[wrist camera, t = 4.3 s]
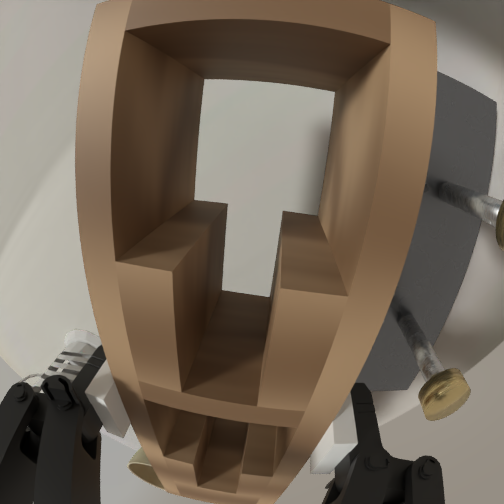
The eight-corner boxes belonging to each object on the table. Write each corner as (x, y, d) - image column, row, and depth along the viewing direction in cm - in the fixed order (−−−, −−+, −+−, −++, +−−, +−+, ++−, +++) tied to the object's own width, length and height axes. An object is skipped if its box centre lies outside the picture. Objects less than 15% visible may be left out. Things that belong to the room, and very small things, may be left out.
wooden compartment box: (183, 57, 9) (96, 4, 3) (362, 74, 8) (435, 21, 3) (186, 430, 18) (167, 492, 13) (274, 445, 18) (267, 510, 12)
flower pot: (208, 425, 27) (194, 476, 21) (222, 460, 31) (213, 501, 24) (134, 412, 29) (113, 455, 22) (158, 449, 32) (144, 485, 26)
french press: (141, 403, 27) (65, 572, 4) (67, 374, 28) (-20, 505, 5) (126, 343, 24) (2, 557, 1) (45, 314, 24) (-80, 458, 1)
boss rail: (402, 63, 13) (486, 17, 4) (488, 103, 12) (578, 102, 4) (330, 381, 23) (339, 472, 14) (404, 382, 22) (430, 460, 13)
